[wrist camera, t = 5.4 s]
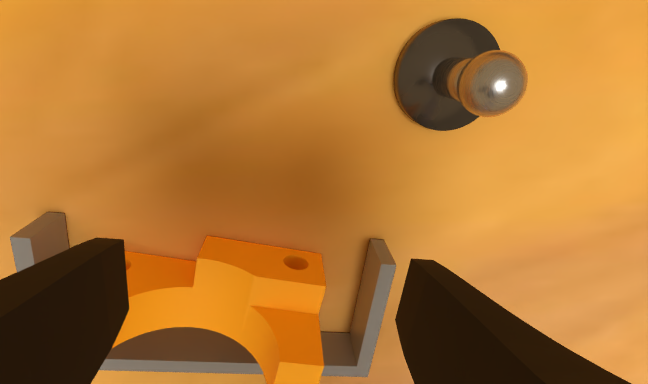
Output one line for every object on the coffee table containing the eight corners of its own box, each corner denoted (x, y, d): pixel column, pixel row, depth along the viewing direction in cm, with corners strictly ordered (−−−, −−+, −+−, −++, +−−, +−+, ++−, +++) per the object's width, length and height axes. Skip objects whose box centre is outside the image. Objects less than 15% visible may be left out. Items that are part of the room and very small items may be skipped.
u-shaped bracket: (359, 343, 23) (367, 377, 21) (65, 331, 21) (36, 368, 18) (383, 239, 20) (396, 265, 18) (47, 211, 18) (9, 236, 15)
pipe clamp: (320, 252, 20) (334, 335, 15) (304, 311, 22) (310, 408, 16) (99, 216, 18) (8, 296, 12) (98, 284, 20) (16, 384, 14)
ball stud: (475, 133, 18) (547, 164, 13) (384, 121, 18) (423, 149, 13) (507, 29, 17) (603, 20, 12) (406, 11, 16) (462, -8, 11)
